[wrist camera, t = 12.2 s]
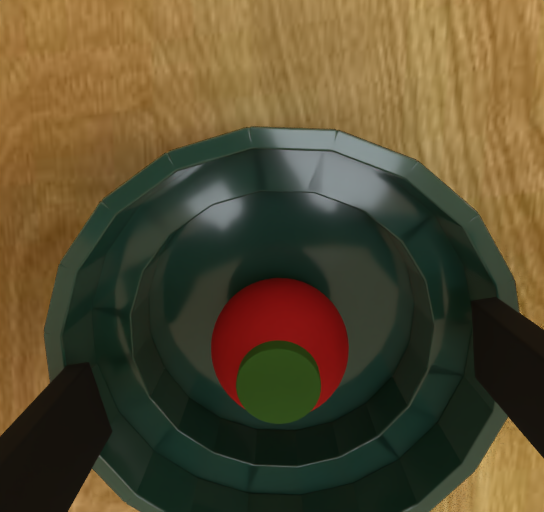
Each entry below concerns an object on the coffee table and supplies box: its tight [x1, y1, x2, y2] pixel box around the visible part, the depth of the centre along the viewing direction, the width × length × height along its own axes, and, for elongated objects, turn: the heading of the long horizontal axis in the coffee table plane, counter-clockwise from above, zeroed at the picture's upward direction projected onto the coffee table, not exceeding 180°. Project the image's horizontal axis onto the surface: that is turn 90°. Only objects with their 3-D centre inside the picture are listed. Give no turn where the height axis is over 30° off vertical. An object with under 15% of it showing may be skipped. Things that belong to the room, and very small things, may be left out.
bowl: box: [44, 126, 520, 512], centre depth 15 cm, size 15×15×5 cm
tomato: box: [211, 278, 349, 424], centre depth 15 cm, size 5×5×5 cm
